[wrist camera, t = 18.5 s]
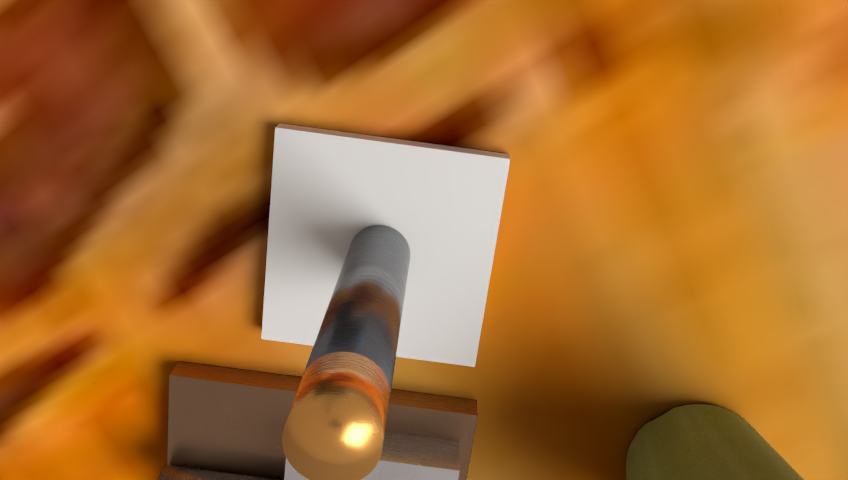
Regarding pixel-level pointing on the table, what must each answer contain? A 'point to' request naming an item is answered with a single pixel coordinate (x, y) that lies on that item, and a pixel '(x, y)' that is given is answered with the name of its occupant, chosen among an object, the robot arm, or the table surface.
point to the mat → (391, 206)
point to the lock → (267, 415)
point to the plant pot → (703, 448)
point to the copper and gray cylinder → (351, 364)
